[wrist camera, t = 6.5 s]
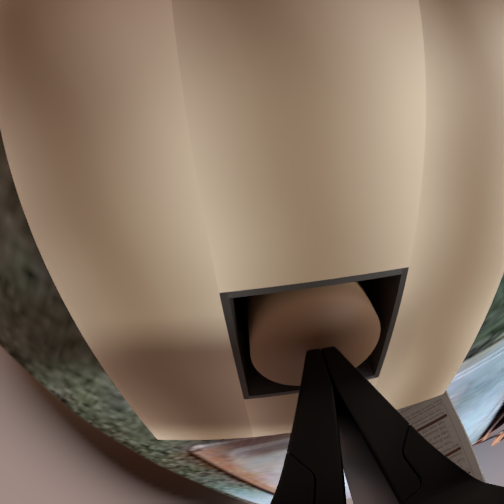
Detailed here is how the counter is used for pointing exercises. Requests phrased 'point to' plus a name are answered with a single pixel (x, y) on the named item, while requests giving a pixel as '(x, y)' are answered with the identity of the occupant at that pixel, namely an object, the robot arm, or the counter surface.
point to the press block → (258, 184)
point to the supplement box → (444, 431)
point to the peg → (309, 328)
